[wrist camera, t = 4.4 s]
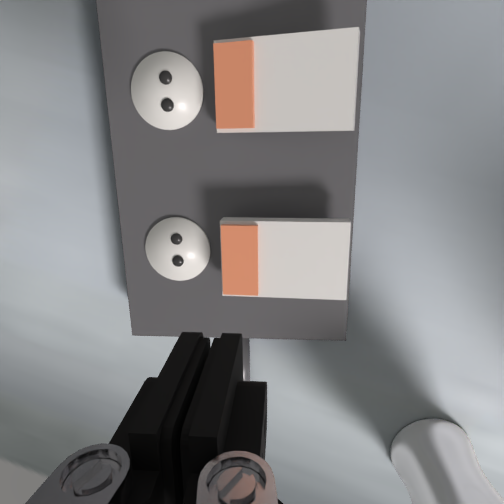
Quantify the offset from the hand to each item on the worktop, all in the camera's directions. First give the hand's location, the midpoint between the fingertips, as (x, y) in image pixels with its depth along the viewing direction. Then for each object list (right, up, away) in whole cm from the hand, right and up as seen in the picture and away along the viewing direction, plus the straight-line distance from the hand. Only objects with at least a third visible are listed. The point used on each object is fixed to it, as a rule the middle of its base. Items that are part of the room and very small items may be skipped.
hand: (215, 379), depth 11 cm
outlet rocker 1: (+3, +12, +9) cm, 15 cm away
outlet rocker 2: (+3, +3, +12) cm, 12 cm away
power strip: (0, +9, +14) cm, 17 cm away
